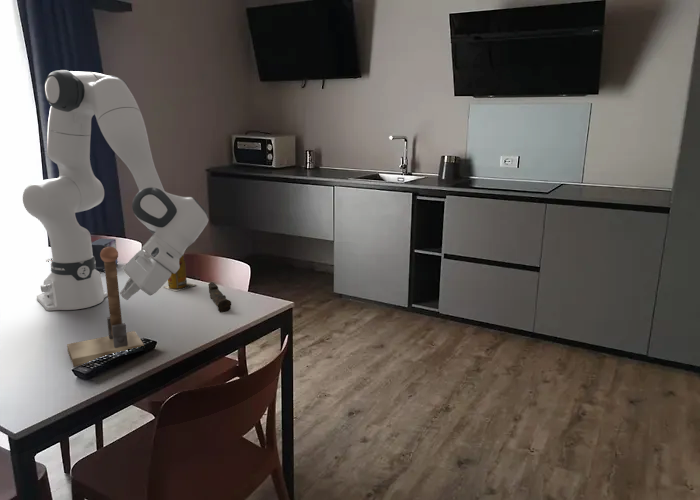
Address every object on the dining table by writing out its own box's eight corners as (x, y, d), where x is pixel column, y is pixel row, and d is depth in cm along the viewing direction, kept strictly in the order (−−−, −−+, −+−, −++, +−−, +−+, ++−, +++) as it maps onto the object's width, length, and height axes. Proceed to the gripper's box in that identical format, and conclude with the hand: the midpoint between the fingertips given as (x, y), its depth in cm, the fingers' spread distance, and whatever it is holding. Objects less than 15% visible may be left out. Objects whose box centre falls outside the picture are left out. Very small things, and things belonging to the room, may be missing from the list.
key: (57, 259, 224) (46, 260, 222) (57, 257, 223) (45, 258, 222) (58, 266, 213) (46, 268, 211) (58, 264, 213) (45, 265, 211)
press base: (135, 337, 146) (132, 311, 144) (144, 351, 138) (141, 323, 136) (67, 351, 138) (64, 323, 136) (73, 366, 130) (69, 337, 128)
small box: (107, 272, 206) (104, 244, 203) (89, 271, 206) (86, 244, 203) (119, 264, 216) (116, 238, 213) (102, 264, 216) (99, 238, 213)
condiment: (163, 287, 188) (160, 253, 185) (184, 281, 195) (182, 248, 192) (175, 291, 184) (172, 256, 181) (197, 285, 190) (194, 252, 187)
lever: (124, 334, 141) (115, 244, 136) (128, 339, 138) (119, 247, 132) (107, 337, 139) (98, 246, 134) (110, 343, 136) (100, 249, 130)
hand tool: (232, 311, 166) (231, 297, 165) (218, 313, 165) (217, 298, 163) (219, 293, 183) (218, 280, 182) (207, 295, 181) (206, 281, 180)
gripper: (140, 238, 147) (104, 279, 144) (161, 255, 130) (121, 301, 128) (159, 252, 150) (124, 292, 148) (181, 270, 134) (143, 316, 131)
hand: (123, 297), depth 137 cm, fingers closed
